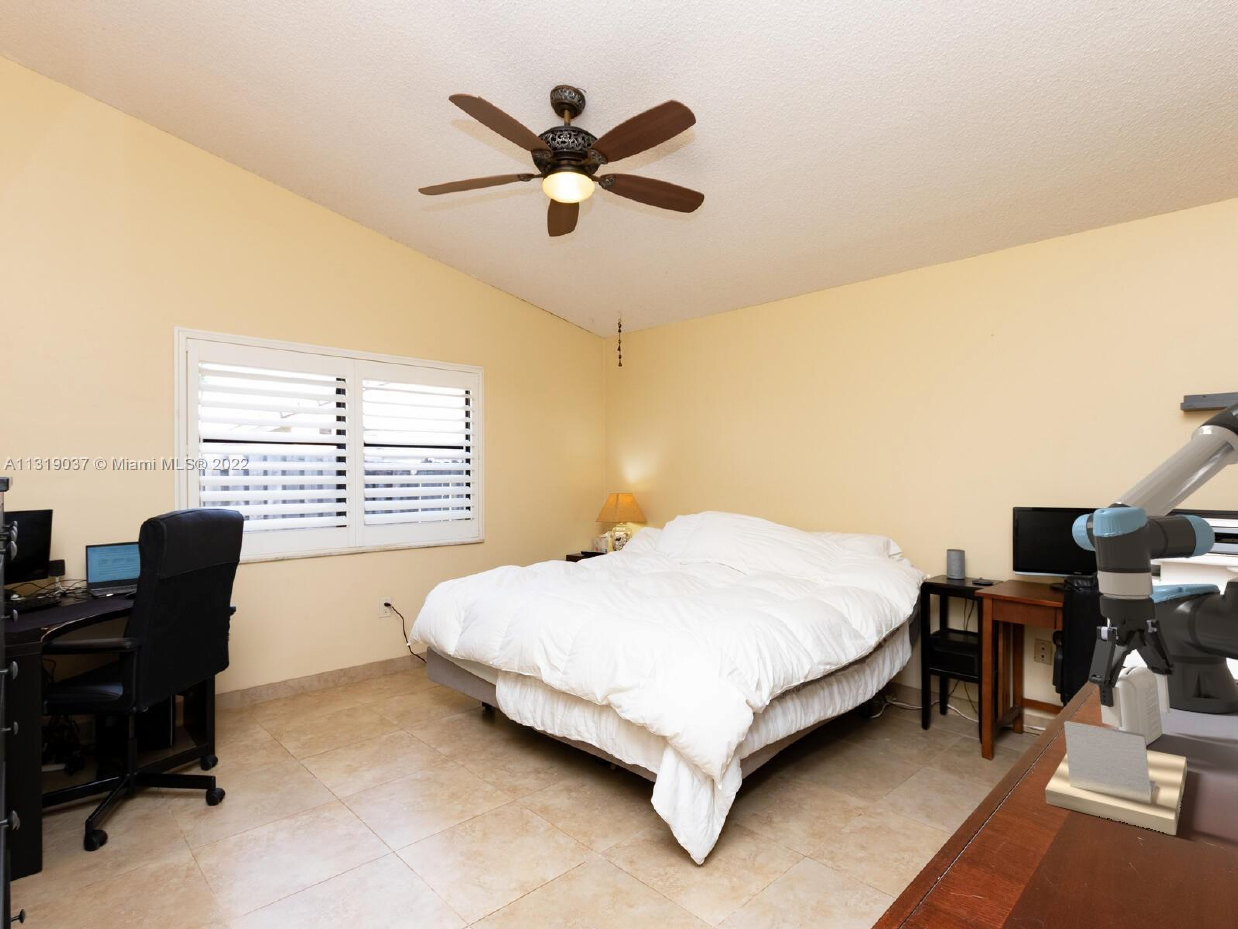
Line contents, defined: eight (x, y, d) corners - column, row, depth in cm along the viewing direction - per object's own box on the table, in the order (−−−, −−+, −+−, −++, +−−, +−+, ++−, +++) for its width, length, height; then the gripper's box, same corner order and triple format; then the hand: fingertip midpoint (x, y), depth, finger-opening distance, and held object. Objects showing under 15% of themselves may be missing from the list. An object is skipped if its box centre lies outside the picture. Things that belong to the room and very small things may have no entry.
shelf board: (1077, 748, 108) (1076, 737, 108) (1187, 770, 98) (1185, 757, 98) (1046, 803, 91) (1045, 789, 91) (1175, 835, 81) (1173, 819, 81)
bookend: (1079, 769, 96) (1073, 709, 97) (1156, 785, 90) (1149, 721, 90) (1070, 786, 91) (1064, 723, 92) (1150, 805, 85) (1144, 736, 85)
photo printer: (1136, 728, 115) (1129, 659, 116) (1166, 735, 111) (1159, 664, 112) (1113, 743, 109) (1106, 671, 110) (1144, 751, 106) (1137, 676, 106)
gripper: (1144, 586, 120) (1154, 699, 119) (1057, 600, 110) (1067, 723, 109) (1192, 590, 113) (1204, 711, 112) (1104, 606, 103) (1115, 738, 102)
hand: (1136, 718), depth 110 cm, fingers open, 13 cm apart
